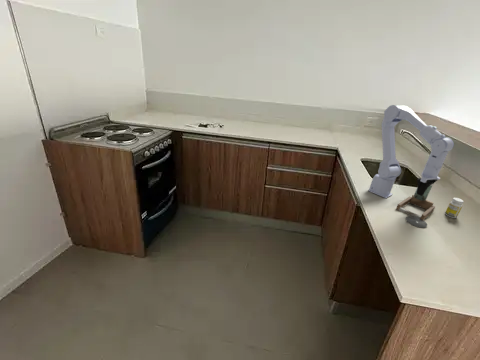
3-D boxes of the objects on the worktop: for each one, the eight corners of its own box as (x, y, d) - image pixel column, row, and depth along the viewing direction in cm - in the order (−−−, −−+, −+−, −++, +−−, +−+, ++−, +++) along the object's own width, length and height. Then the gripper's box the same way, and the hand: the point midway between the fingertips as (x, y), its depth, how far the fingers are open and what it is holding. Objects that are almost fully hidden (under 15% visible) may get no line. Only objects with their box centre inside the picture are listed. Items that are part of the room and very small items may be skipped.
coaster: (402, 220, 118) (403, 219, 118) (409, 215, 123) (410, 214, 123) (423, 230, 113) (423, 228, 113) (429, 224, 118) (429, 222, 118)
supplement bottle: (451, 213, 130) (459, 197, 127) (459, 218, 126) (467, 202, 122) (442, 212, 130) (449, 196, 126) (449, 217, 125) (457, 201, 122)
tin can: (411, 196, 125) (418, 181, 122) (415, 194, 128) (422, 178, 125) (423, 201, 122) (431, 185, 119) (427, 199, 125) (434, 183, 122)
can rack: (395, 208, 128) (398, 201, 126) (407, 200, 137) (410, 193, 135) (422, 220, 120) (426, 212, 118) (433, 211, 130) (436, 203, 128)
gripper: (439, 171, 111) (426, 201, 117) (448, 165, 120) (436, 193, 126) (420, 165, 116) (408, 194, 122) (431, 160, 125) (419, 187, 131)
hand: (421, 193), depth 124 cm, fingers closed on tin can, 5 cm apart
